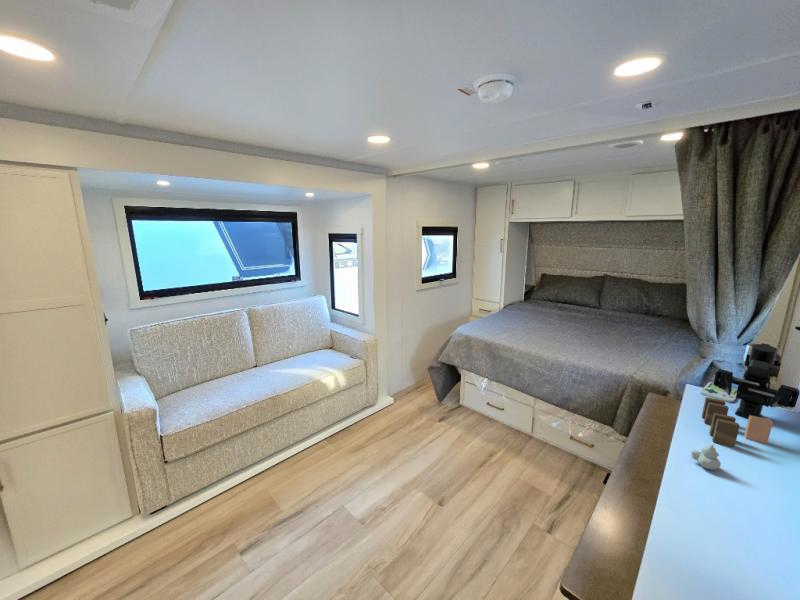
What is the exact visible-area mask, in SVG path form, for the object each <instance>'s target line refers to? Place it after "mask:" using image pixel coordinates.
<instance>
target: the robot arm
mask: <svg viewBox="0 0 800 600" xmlns="http://www.w3.org/2000/svg"><path fill="white" fill-rule="evenodd" d="M781 360H782V356H780V354H778V349H777V348H776V347H774V346H772V345H771V344H769V343H764V342H763V343H762V342H761V343H759V344H758V343H756V344H752V346H751V350H750V354H748V353H747V354H746V357H745V361H744V362H745V363H744V366H745V367H747V368H746V369H745V371H744V373H743V378H741V377H737V376H734V372H732V371H729V370H725V369H721V368H718V369H717V370H716V372H715V375H714V380H713V383H714V385H715V386H716V387H719V388H721V389H723V390H724V391H725V392H726V393H727V394H728V395H730V394H731V390H732V388H733V385H736V386H737V393H736V399H740V401H739V406H738V408H737V409H736V410H735V413H734V414H735V415H736V416H740V417H742V418H745V419H747V420H748V419H749V415H751V416H756V417H761V418H763V414H762V412H763V407H767V408H769V407H770V408H777V407H785V408H788V407H789V408H796V405H797V401H798V400H799V395H800V390H799V388H797V387H793V386H790V385H789V386H788V385H785V384H780V387H778V389H775V388H771V381H770V380H771V378H774V377H775V378H778V377H779V373H780V370H781V365H782V363H781Z"/></svg>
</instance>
